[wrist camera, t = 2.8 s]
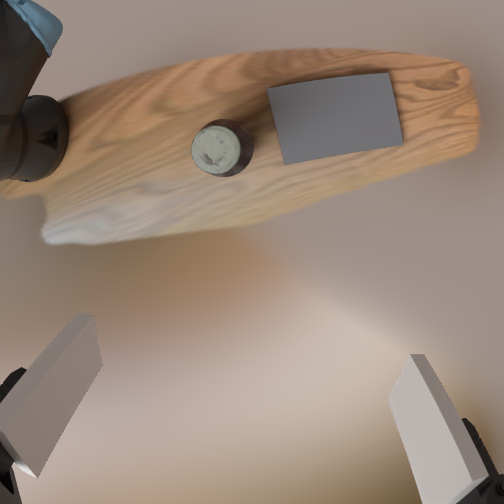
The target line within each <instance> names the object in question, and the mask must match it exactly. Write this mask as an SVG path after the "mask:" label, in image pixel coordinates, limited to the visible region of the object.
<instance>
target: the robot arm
mask: <svg viewBox="0 0 504 504" xmlns="http://www.w3.org/2000/svg"><path fill="white" fill-rule="evenodd" d="M62 29H63V27H62V23H61V21H60V20H59V19H58V18H57V17H56V16H54V15H53V14H51V13H50V12H49V11H47V10H46V9H44V8H43V7H41V6H40V5H38V4H37V3H35V2H33V1H31V0H0V181H2V180H5V179H8V178H9V179H14V180H20V181H23V182H34V181H38V180H41V179H44V178H46V177H48V176H49V175H51V174H52V173H53V172H54V171H55V170H56V168H57V167H58V166H59V164H60V162H61V161H62V158H63V156H64V153H65V150H66V146H67V141H68V124H67V119H66V116H65V113H64V111H63V109H62V107H61V106H60V104H59V103H58V102H57V101H56V100H54V99H53V98H51V97H49V96H43V95H33V96H28V94H29V92H30V90H31V88H32V86H33V84H34V82H35V80H36V78H37V77H38V75H39V73H40V71H41V69H42V67H43V66H44V64H45V62H46V60H47V58H50V56H51V54H52V50H53V48H54V46H55V44H56V43H57V41H58V39H59V38H60V36H61V34H62ZM102 366H103V364H102V360H101V354H100V349H99V344H98V338H97V332H96V326H95V319H94V315H90V314H86V313H82V312H78V313H77V314H76V315H75V316H74V318H73V319H72V320H71V321H70V322H69V323H68V324H67V325H66V326H65V327H64V328H63V329H62V331H61V332H60V333H59V334H58V335H57V336H56V337H55V338H54V340H53V341H52V342H51V343H50V344H49V345H48V346H47V348H46V349H45V350H44V351H43V352H42V353H41V354H40V356H39V357H38V358H37V359H36V360H35V361H34V363H33V364H32V365H31V366H30V367H29V369H28V370H27V369H24V368H22V367H21V368H19V369H17V370H16V371H14V372H12V373H11V374H10V375H9V376H8V377H7V378H6V380H5V381H4V382H3V384H1V386H0V504H22V502H21V498H20V495H19V491H18V487H17V483H16V479H15V475H14V471H13V469H12V467H11V466H12V464H13V462H15V463H16V464H17V465H18V467H19V468H20V469H21V470H22V471H24V472H26V473H28V474H30V475H31V476H33V477H35V478H37V479H38V477H39V475H40V473H41V471H42V469H43V467H44V465H45V464H46V462H47V460H48V458H49V456H50V454H51V452H52V451H53V449H54V447H55V445H56V443H57V442H58V440H59V438H60V436H61V435H62V433H63V431H64V429H65V427H66V426H67V424H68V422H69V421H70V419H71V417H72V415H73V414H74V412H75V410H76V409H77V407H78V405H79V404H80V402H81V400H82V398H83V397H84V395H85V394H86V392H87V390H88V389H89V387H90V385H91V384H92V382H93V380H94V379H95V377H96V376H97V374H98V372H99V371H100V369H101V368H102ZM387 400H388V403H389V406H390V408H391V411H392V414H393V416H394V419H395V422H396V425H397V427H398V430H399V433H400V436H401V438H402V442H403V444H404V447H405V450H406V453H407V456H408V459H409V462H410V465H411V468H412V471H413V474H414V477H415V481H416V484H417V487H418V490H419V494H420V497H421V500H422V503H423V504H504V475H503V474H500V475H499V474H498V472H497V470H496V468H495V466H494V464H493V462H492V460H491V458H490V456H489V454H488V452H487V450H486V448H485V446H483V442H482V440H481V438H479V434H478V432H477V431H476V429H475V427H474V426H473V425H472V424H471V423H470V422H469V421H468V420H467V419H466V418H463V419H461V418H460V416H459V414H458V412H457V410H456V408H455V407H454V405H453V403H452V401H451V399H450V398H449V396H448V394H447V392H446V390H445V389H444V387H443V385H442V384H441V382H440V380H439V378H438V377H437V375H436V373H435V372H434V370H433V368H432V367H431V365H430V363H429V362H428V360H427V358H426V357H425V355H423V354H410V355H409V357H408V359H407V362H406V364H405V366H404V368H403V370H402V372H401V374H400V376H399V378H398V380H397V382H396V384H395V386H394V388H393V389H392V391H391V393H390V396H389V397H388V399H387Z"/></svg>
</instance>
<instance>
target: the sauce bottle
mask: <svg viewBox="0 0 504 504" xmlns="http://www.w3.org/2000/svg"><path fill="white" fill-rule="evenodd" d="M191 154H192V158H193V160H194V162H195V164H196V165H197V166H198V167H199V168H200V169H201V170H203V171H205V172H207V173H210V174H212V175H215V176H218V177H230V176H233V175H236V174H238V173H240V172H241V171H242V170H243V169H245V168H246V166H247V165H248V164H249V162H250V160H251V158H252V155H253V141H252V138H251V135H250V133H249V132H248V131H247V129H246V128H245V127H244V126H242V125H241V124H239V123H237V122H235V121H232V120H226V119H219V120H215V121H212V122H210V123H208V124H207V125H205V126H204V127H203V128H202V129H201V130H200V131H199V133H198V134H197V135H196V136H195V138H194V140H193V142H192V147H191Z"/></svg>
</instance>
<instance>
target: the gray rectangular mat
mask: <svg viewBox="0 0 504 504" xmlns="http://www.w3.org/2000/svg"><path fill="white" fill-rule="evenodd" d="M266 91H267V95H268V99H269V103H270V107H271V111H272V115H273V119H274V123H275V127H276V131H277V136H278V140H279V144H280V148H281V153H282V157H283V161H284V165H289V164H294V163H299V162H304V161H309V160H315V159H320V158H325V157H331V156H336V155H342V154H348V153H354V152H360V151H366V150H372V149H379V148H386V147H393V146H400V145H403V139H402V133H401V127H400V122H399V117H398V112H397V107H396V102H395V98H394V93H393V89H392V85H391V81H390V77H389V73H377V74H364V75H354V76H344V77H336V78H328V79H320V80H314V81H307V82H301V83H295V84H289V85H284V86H278V87H273V88H268V89H266Z"/></svg>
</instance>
